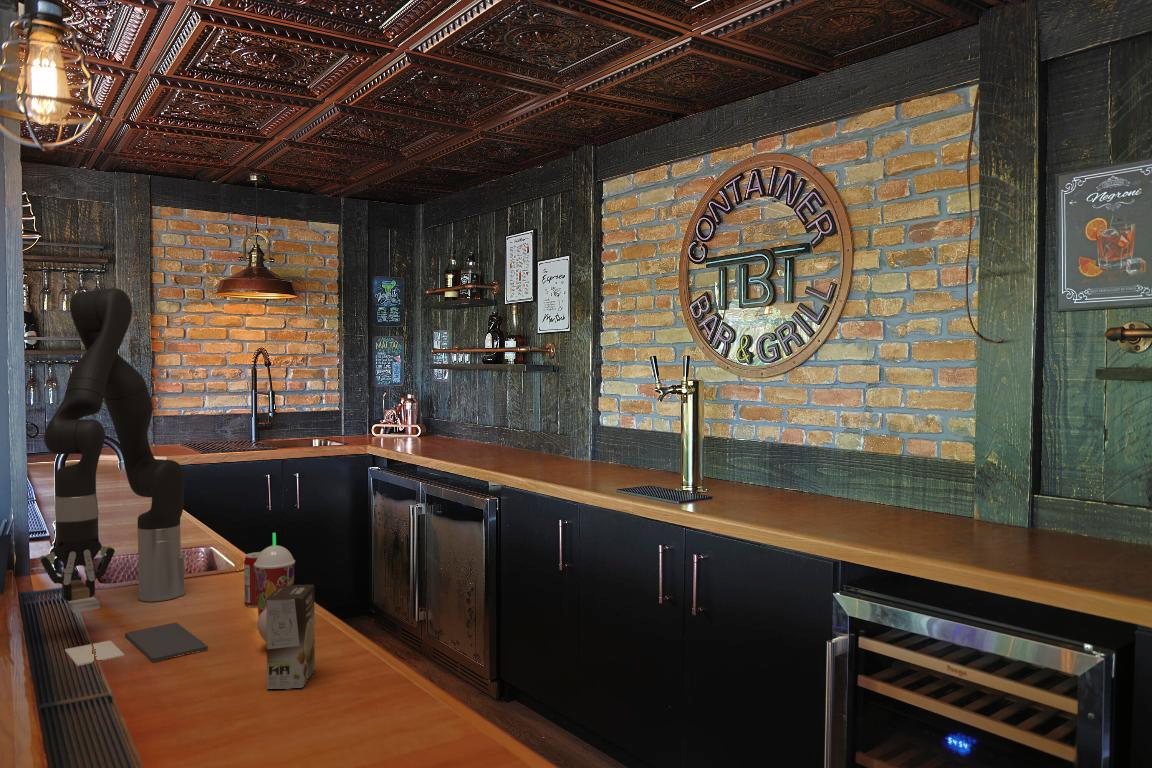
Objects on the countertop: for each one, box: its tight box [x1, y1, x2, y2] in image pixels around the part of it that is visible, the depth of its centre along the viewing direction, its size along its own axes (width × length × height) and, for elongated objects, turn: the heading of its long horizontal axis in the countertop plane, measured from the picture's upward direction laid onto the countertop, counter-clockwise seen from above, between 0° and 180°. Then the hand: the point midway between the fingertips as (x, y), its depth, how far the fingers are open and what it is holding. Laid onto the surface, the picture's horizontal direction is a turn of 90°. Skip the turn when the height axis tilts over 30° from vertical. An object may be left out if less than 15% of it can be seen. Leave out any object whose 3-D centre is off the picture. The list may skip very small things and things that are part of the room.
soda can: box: [243, 551, 262, 608], centre depth 195 cm, size 6×6×12 cm
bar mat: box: [124, 622, 209, 664], centre depth 169 cm, size 10×20×1 cm, turn 42°
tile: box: [64, 640, 125, 667], centre depth 163 cm, size 8×2×11 cm
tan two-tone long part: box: [67, 579, 101, 614], centre depth 172 cm, size 15×5×3 cm, turn 41°
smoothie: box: [254, 532, 296, 619], centre depth 179 cm, size 8×8×20 cm
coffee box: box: [266, 584, 316, 690], centre depth 149 cm, size 9×6×16 cm
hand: (78, 599), depth 172 cm, fingers closed on tan two-tone long part, 3 cm apart
